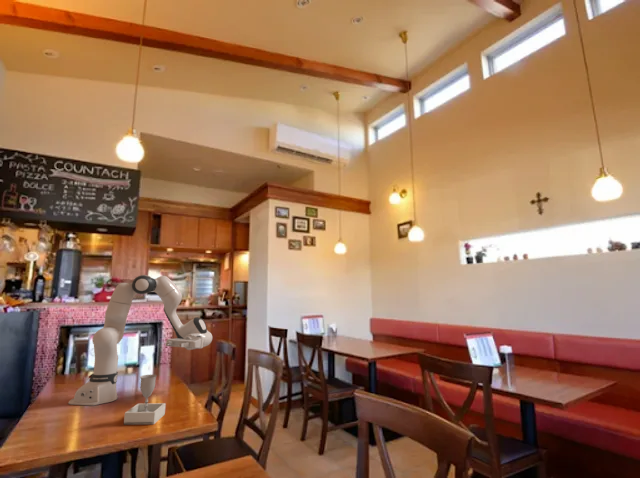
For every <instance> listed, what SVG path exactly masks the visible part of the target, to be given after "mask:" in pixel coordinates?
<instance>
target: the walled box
mask: <svg viewBox="0 0 640 478" xmlns="http://www.w3.org/2000/svg"><path fill="white" fill-rule="evenodd" d="M147 404H148V406H147V411H149V412H143V411H144V409H145V407H144V405H145V403H137V404H135V405H134V406H132V407H130V408H129V409H128V410H127V411H125V412H124V415H123V416H124V419H123V425H124V426H128V425H129V426H130V425H132V426H133V425H134V426H135V425H139V426H140V425H155V424H156V423H157V422H158V421H160V420H161V418H162V417H164V416H165V413H166V405H167V404H166V402H164V403H160V402H159V403H158V402H157V403H155V402H154V403H147Z"/></svg>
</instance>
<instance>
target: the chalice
mask: <svg viewBox="0 0 640 478" xmlns="http://www.w3.org/2000/svg"><path fill="white" fill-rule="evenodd" d="M157 376H158V375H157V374H144V375H141V376H139V378H140V383H139V384H140V387H139V388H140V391H141V394H142V396H143V398H145V400H144V404H145V405H144V407H145V409H144V411H143V412H149V411H147V406H148V404H147V403H148V402H149V397H151V395H152V393H153V392H154V389H155V387H156V379H157Z"/></svg>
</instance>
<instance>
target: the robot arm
mask: <svg viewBox="0 0 640 478" xmlns="http://www.w3.org/2000/svg"><path fill="white" fill-rule="evenodd" d="M151 292H154V293H155V294H156V295H157V296H158V297H159V298H160V299H161V301H162V303H163V312H164V314H165V316H166V318H167V320H168V321H169V323H170V325H171V327H172V330H174V333H175V336H176V338H169V339H168V338H167V339H166V342H165V346H166V347H175V348H184V349H186V350H187V351H191V350H196V349H199V350H200V349H203V348H205V347H207V346H209V345H210V344H211V343H212V341H213V334H212V333H211V332H210V331H209V330H208V329H207V324H206V322H205V320H204V319H203V318H201V317H196V316H195V317H194V318H192V319H190V320H189V321H187V322H186V323H184V324H183V323H182V321H181V320H180V317H179V316H178V314H177V309H178V307H179V305H180V304H181V302H182V299H183V294H182V291H181V290H180V289H179V288H178V287H177V285H176V284H175V283H174V281H173V280H171V279H170V278H169V277H168V276H166V275H161V276H158V277H157V278H153V277H151V276H150V275H148V274H140V275H138V276H136V277H135V278H134V279H133V280H132V282H130V283H128V282H121V283H118V284H117V285H116V287H115V289H114V291H112V294H111V296H110V300H109V302H108V305H107V308H106V310H105V313H104V316H105V317H104V324H103V327H101V328H100V329H98V330H97V331H96V332H95V333H94V335H93V336H92V338H91V339H92V344H93V351H94V352H93V353H94V363H93V364H94V365H93V373H91V374H90V375H88V376H87V379H89V380H88V381H87V382H86V383H85V384H82V386H80V387H78V389H77V390H76V392H75V394H74V396H73V397H74V398H72V399H70V400H69V401H68V403H67V404H68V405H73V406H74V405H76V406H77V405H78V406H98V405H101V404H108V403H111V402H114V401H117V400H118V399H119V398H118V394H117V393H118V392H117V382H118V376H119V375H118V373H119V372H118V363H119V355H118V344H119V343H120V342H121V341H122V339H123V337H124V333H125V328H126V323H127V318H128V315H129V312H130V309H131V306H132V303H133V299H134V298H135V296H136V295H138V294H139V295H145V294H148V293H151Z"/></svg>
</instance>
